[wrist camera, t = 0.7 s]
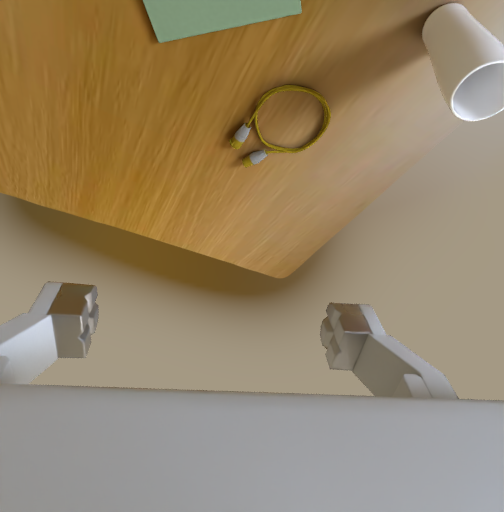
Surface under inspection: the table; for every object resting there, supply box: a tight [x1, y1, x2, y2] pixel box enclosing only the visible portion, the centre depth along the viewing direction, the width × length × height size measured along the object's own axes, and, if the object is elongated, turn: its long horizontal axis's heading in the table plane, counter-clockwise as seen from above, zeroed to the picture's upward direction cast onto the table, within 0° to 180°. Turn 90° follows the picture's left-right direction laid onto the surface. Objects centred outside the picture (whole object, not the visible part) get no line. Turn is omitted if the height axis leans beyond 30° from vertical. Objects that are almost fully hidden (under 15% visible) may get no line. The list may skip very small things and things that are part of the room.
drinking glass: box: [422, 3, 504, 121], centre depth 44 cm, size 7×7×15 cm
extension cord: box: [229, 85, 331, 168], centre depth 59 cm, size 12×16×2 cm
